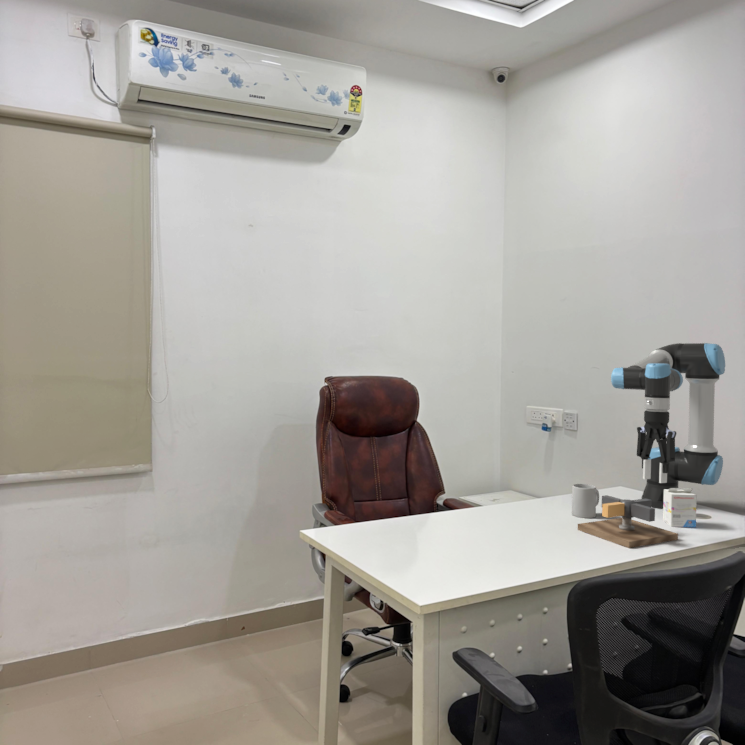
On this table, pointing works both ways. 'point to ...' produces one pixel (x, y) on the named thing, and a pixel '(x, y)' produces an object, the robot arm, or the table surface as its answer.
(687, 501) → the ink box
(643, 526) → the stud base
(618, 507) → the grey bar cross
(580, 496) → the mug
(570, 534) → the table surface
